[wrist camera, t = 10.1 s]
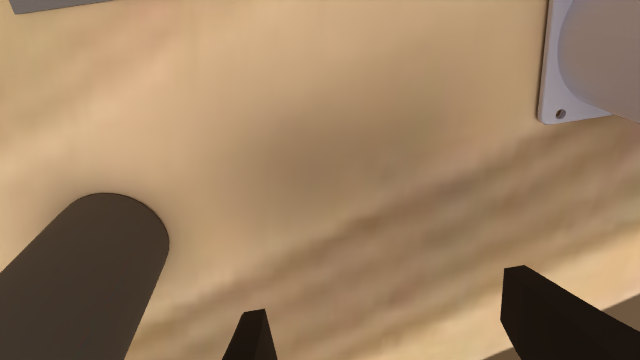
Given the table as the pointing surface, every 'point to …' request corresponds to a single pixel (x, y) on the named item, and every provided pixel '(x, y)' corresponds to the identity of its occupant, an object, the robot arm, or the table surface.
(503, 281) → the robot arm
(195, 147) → the table surface
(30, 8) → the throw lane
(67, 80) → the table surface
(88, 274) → the bottle
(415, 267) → the table surface
